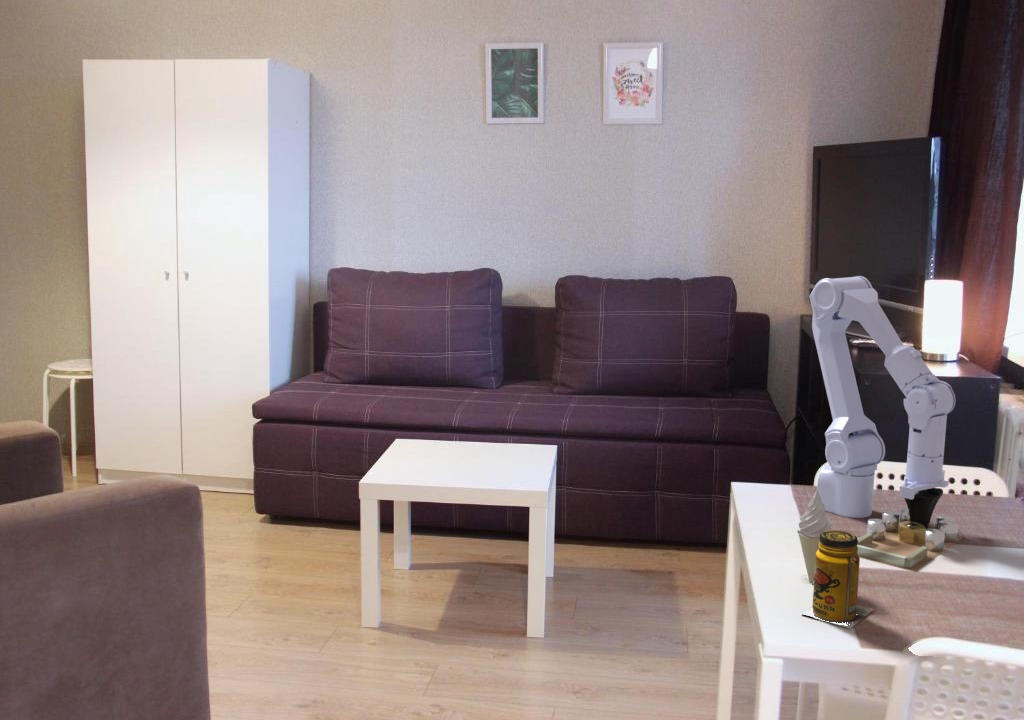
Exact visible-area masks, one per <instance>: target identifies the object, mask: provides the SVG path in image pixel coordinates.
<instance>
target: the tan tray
mask: <svg viewBox="0 0 1024 720" xmlns="http://www.w3.org/2000/svg"><path fill="white" fill-rule="evenodd" d="M927 529H932V528H931V527H928V528H927ZM872 537H873V534H870V533H867V532H866V534H864V535H862V536H861V537H859V538H857V539H858V544H857V547H858V551H857V553H858V555H859V558H860V559H864V560H867V561H872V562H874V563H879V564H884V565H886V566H890V567H894V568H895V567H896V568H899V569H902V570H907V571H910V572H914V573H916V572H917V571H919V570H920V569H921V568H923V567H925V566H926V565H927V564H928V563H930V562H931V561H932V560H934V559H935V558H937V557H938V556H940V555H941V554H942V553H944V552H946V551H947V550H949V549H950V548H951V547H953V546H954V545H955V544H957V543H958V542H959V541H961V540H963V538H965V537H966V535H961V534H957V541H956V542H955V543H945V542H944V550H943V552H930V551H927V550H928V547H924V543H918V544H910V543H906V542H902V541H899V539H898V532H895V533H892V532H886V537H885V540H884V541H872Z"/></svg>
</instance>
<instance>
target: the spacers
mask: <svg viewBox="0 0 1024 720" xmlns="http://www.w3.org/2000/svg"><path fill="white" fill-rule="evenodd" d="M881 512H882V513H881V518H868V520H867V527H866V534H867V533H870V534H873V537H872V541H884V540H885V537H886V532H892V533H895V532H898V523H899V522H906V521H911V520H910V514H909V510H908V506H903V507H901V508H900V512H898V511H896V510H889V509H888V510H882V511H881ZM958 528H959V523H958V522H956V521H955V517H954V516H952V515H949V514H945V513H944V514H943V513H940V514H938V513H937V514H936V515H935V516H934V527H933V528H931V529H926V530H925V542H924V547H928V550H927V551H930V552H942V553H944V552H943V550H944V542H945V543H955V542H956V541H957V535H958V530H959V529H958ZM955 544H956V543H955Z"/></svg>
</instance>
